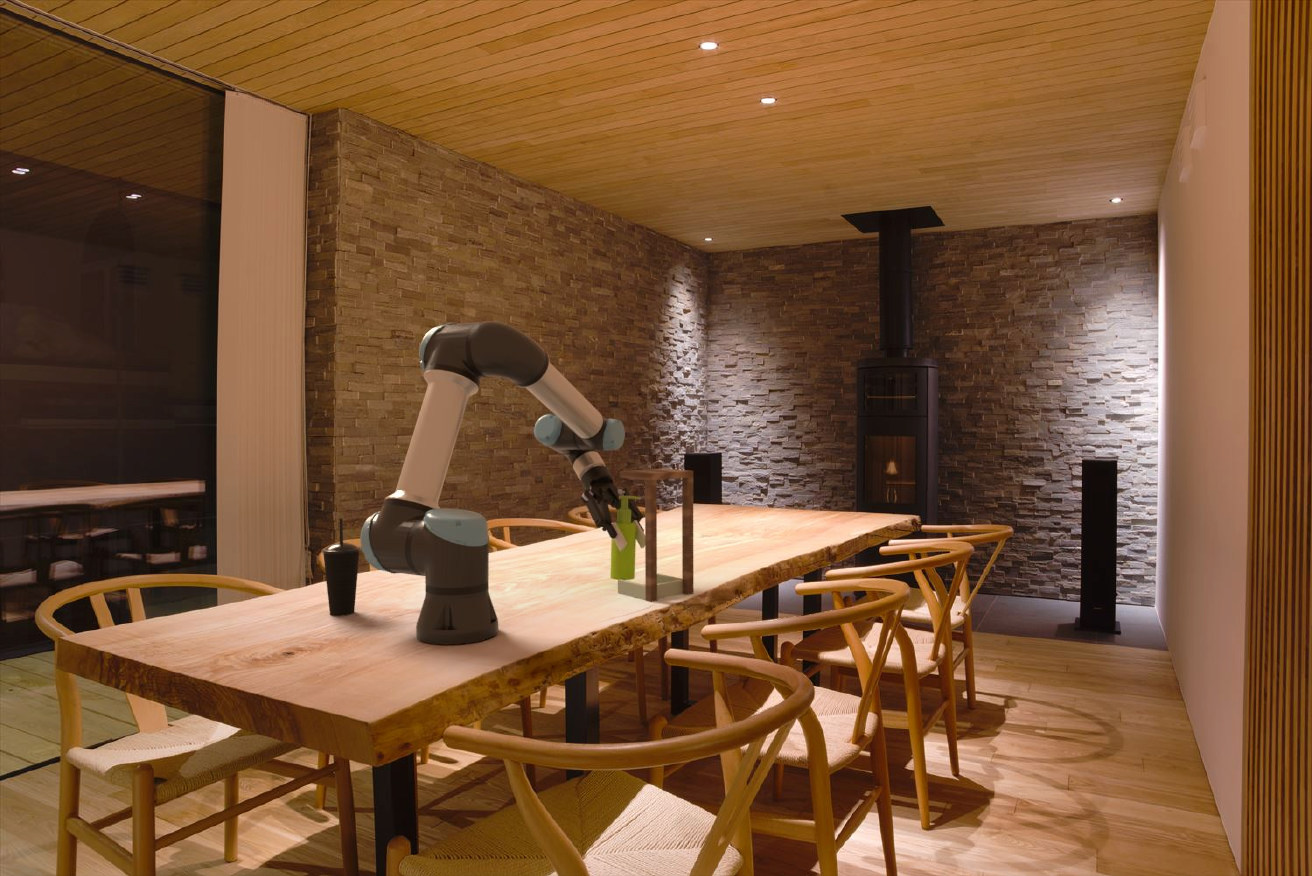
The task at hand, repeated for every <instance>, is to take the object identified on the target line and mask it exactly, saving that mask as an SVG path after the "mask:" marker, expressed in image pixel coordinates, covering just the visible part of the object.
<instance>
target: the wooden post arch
mask: <svg viewBox="0 0 1312 876" xmlns="http://www.w3.org/2000/svg"><path fill="white" fill-rule="evenodd" d="M619 478H620V479H630V480H631V479H632V480H642V481H644V508H645V509H644V517H645V520H644V523H645V524H644V525H645V526H644V528H645V529H644V534H645V547H644V549H645V552H644V553H645V557H644V558H645V560H644V563H645V579H644V580H645V585H646V600H645V601H646V602H651V603H652V602H657V601H658V598H657V574H658V557H657V556H658V555H657V553H658V549H657V547H658V546H657V545H658V542H657V541H658V539H657V538H658V537H657V536H658V535H657V532H658V531H657V526H658V522H657V519H658V517H657V514H658V513H657V510H658V509H657V506H658V505H657V498H658V497H657V493H658V491H657V490H658V489H657V481H660V480H674V479H681V481H682V483H681V488H682V489H681V497H682V498H681V503H682V504H681V509H682V510H681V513H682V517H681V519H682V521H681V522H682V527H681V531H682V534H681V535H682V536H681V537H682V538H681V539H682V540H681V541H682V544H681V545H682V549H681V550H682V554H681V555H682V556H681V557H682V560H681V561H682V562H681V563H682V564H681V565H682V576H681V577H682V581H683V593H682V594H683V595H688V596H689V595H692V594H694V470H686V469H675V468H674V469H671V468H652V469H651V468H650V469H634V470H632V469H631V470H620V471H619Z"/></svg>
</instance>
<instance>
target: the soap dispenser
mask: <svg viewBox="0 0 1312 876" xmlns="http://www.w3.org/2000/svg"><path fill="white" fill-rule="evenodd" d="M619 499H621V508H620V509H618V510H616V511H617V513H616V515H617V516H616V517H617V518H616V524H617V526H618V528H619V530H620V531H621V533H622V535H623V537H624V538H625V540H626V542H627V545H626V546H625V548H624V549H623V551H620V550H619V548H618V547H617V545H616V543H615V541H614V539H613V538H611V540H610V541H611V545H610V547H611V549H610V579H612V580H617V581H618V580H626V581H632V580H634V579H635V577H636V574H635V573H636V542H637V540H636V524H634V523H631V510H630V509H629V508H628V499H632V500H637V501H640V500H641V499H642V498H641V497H639V496H635V495H630V496H619Z"/></svg>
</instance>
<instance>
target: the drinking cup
mask: <svg viewBox="0 0 1312 876" xmlns="http://www.w3.org/2000/svg"><path fill="white" fill-rule="evenodd" d="M338 520H339V521H338V522H339V526H338V527H339V542H337V543H333V544H329V545H328V546H327V547H325V548H322V549H321V553H322V554H323V562H324V571H325V581H326V591H327V592H326V593H327V599H328V601H327V602H328V607H329V615H330V616H334V617H336V616H337V617H341V616H342V615H344V616H349V615H352V614H353V615H354V613H355V609H356V608H355V605H356V595H357V581H358V572H359V571H358V570H359V561H360V560H359V559H360V551H362V548H361V546H357V545H356V544H353V543H349V542H344V518H343V517H339V519H338Z"/></svg>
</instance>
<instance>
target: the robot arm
mask: <svg viewBox="0 0 1312 876" xmlns="http://www.w3.org/2000/svg"><path fill="white" fill-rule="evenodd" d="M418 358H420V360H421V361H419V363H420V367H421V369H422V371H423V372H424V373H423V379H424V380H425V382H426V383H427V387H426V391H425V394H424V397H423V401H422V403H421V408H420V410H419V414H418V417H417V420H416V424H415V427H414V430H413V433H412V437H411V440H410V443H409V446H408V449H407V453H406V455H405V459H404V462H403V466H402V469H401V471H400V472H401V473H400V476H399V479H398V482H397V485H396V488H395V491H394V492H393V493H392V494H390V495H388V496H386V497H385V498H384V500H383V504H382V507H381V510H380V511H378V512H377V511H376V512H374V513H373V514H372V515H370V516H369V517H367V519H366V520H365V521H364V523H363V525H362V528H361V531H360V548H361V551H362V553H363V554H364V558H365V560H366V561H367V563H368V564H369V565H370V566H371V567H373V568H374V569H376V570H378V571H384V572H387V573H391V574H394V575H395V574H405V575H414V576H421V577H425V578H424V579H425V581H424V582H425V595H424V596H425V597H424V599H423V603H422V606H421V610H420V612H419V616H418V619H417V622H416V626H415V627H416V628H415V630H416V632H415V634H416V637H415V638H416V639H417V640H418V641H421V642H423V643H428V644H433V645H434V644H435V645H461V644H460V643H465V644H470V643H472V644H473V643H477V641H478V642H481V641H485V639H486V640H488V638H489V639H491V637H492V638H494V637H495V636H497V634H499V619H498V616H497V614H496V610H495V607H494V605H493V602H492V598H491V595H490V593H489V591H490V589H489V574H490V573H489V568H490V567H489V563H490V561H489V556H490V554H489V553H490V552H489V551H490V549H489V547H490V546H489V545H490V544H489V543H490V535H489V529H488V528H489V527H488V526H489V525H488V521H487V519H486V518H485V516H483V515H482V514H481V513H478V512H476V511H472V510H467V509H462V508H461V509H460V508H447V507H444V508H443V507H442V508H441V507H440V506H439V501H440V497H441V494H442V490H443V486H444V484H445V483H444V482H445V479H446V476H447V473H448V470H449V466H450V461H451V459H452V455H453V453H454V452H453V451H454V449H455V448H454V447H455V445H456V442H457V438H458V435H459V431H460V428H461V424H462V421H463V418H464V414H465V410H466V408H467V404H468V400H469V397H472V396H473V395H476V394H477V393H478V392H479V390H480V386H481V381H482V379H484V378H501V379H506V380H508V381H510V382H512V383H513V384H514V385H515V386H517V387H519V388H522V389H523V388H525V389H526V390H527V391H528V392H530V393H531V394H532V395H533V396H534V397H535V399H537V400H538V401H540V402H541V403H542V405H544V406H545V407H546V409H548V410H549V411H550V412H551V413H552V414H551V413H548V414H543V415H542V416H540V417H539V418H538V419H537V420H536V422H535V425H534V428H533V434H534V437H535V439H536V440H537V441H538V442H539V443H541V444H542V445H543V446H544V447H546V448H547V447H548V448H550V449H551V450H553V451H555V452H558V453H559V454H561V455H563V456H565V457H566V458H567V460H568V461H569V463H570V465H571V467H572V469H573V471H574V472H575V474H576V476H577V477H578V479H579V481H580V483H581V485H582V486H583V488H584V492H583V493H582V495H581V496H580V499H581V500H582V502H583V503H584V504H585V506H586V508H587V510H588V512H589V514H590V516H591V518H592V521H593V522H594V524H595V526H596V527H597V528H598V529H600V528H601V530H602V531H603V532H607V534H608V536H609V537H610V538H611V539H612V538H613V539H614V541H615V543H616V545H617V547H618V548H619V550H620V551H623V549H624V548H625V546H626V545H627V542H626V540H625V538H624V537H623V535H622V533H621V531H620V530H619V528H618V526H617V524H616V523H617V521H615V522H613V519H612V517H611V512H610V508H609V505H610V506H611V508H613V509H614V508H615V510H616V511H617V510H618V509H620V508H621V499H619V496H631V495H630V492H629V489H628V488H627V487H623V489H622V488H621V489H620V488H618V487H617V486H616V485H615V484H614V479H613V475H612V474H611V472H610V471H609V469H608V467H607V466H606V463H605V462H604V460H603V459H602V456H601V455H600V454H599V452H598V451H605V452H606V451H617V450H619V449H620V448H621V447H622V446H623V445H624V441H625V436H626V431H625V426H624V424H623V422H622V421H621V420H620V419H615V418H605V417H604V415H602V414H601V412H600V411H599V410H597V408H596V407H594V406H593V405H592V403H591V402H590V401H589V400H588V399H586V398H585V397H584V395H582V393H581V392H580V391H578V390H577V388H576V387H575V386H574V385H572V383H571V382H569V381H570V380H567V378H566V377H565V376H564V375H563V374H562V373H561V372H560V371H559V370H558V369H556V367H555V366H554V365H553V364H552V363H551V362H550V356H549V354H548V352H546V350H545V349H544V348H542V346H541V345H539V343H537V342H536V341H535V340H534V339H532V338H531V337H529V335H527V334H526V333H524V332H522V331H521V330H519V329H517V328H516V327H514V326H512V325H509V324H507V323H504V322H501V321H495V320H489V321H488V320H485V321H477V322H476V321H475V322H464V323H459V322H450V323H445V324H442V325H437V326H435V327H432V328H431V329H430V330H428V332H426V333H425V335H424V337H422V341H421V343H420V345H419V350H418ZM628 508H629V509H630V510H631V523H634V524H636V542H637V543H638V545H639V547H640V548H641V549H645V529H644V528H643V525H642V524H641V523H640V522H641V521H642V519H643V518H644V515H643V514H642V511H641V510H640V509H639V507H638V506H637V504H636V502H635V501H634V499H628ZM493 636H494V637H493Z"/></svg>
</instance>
